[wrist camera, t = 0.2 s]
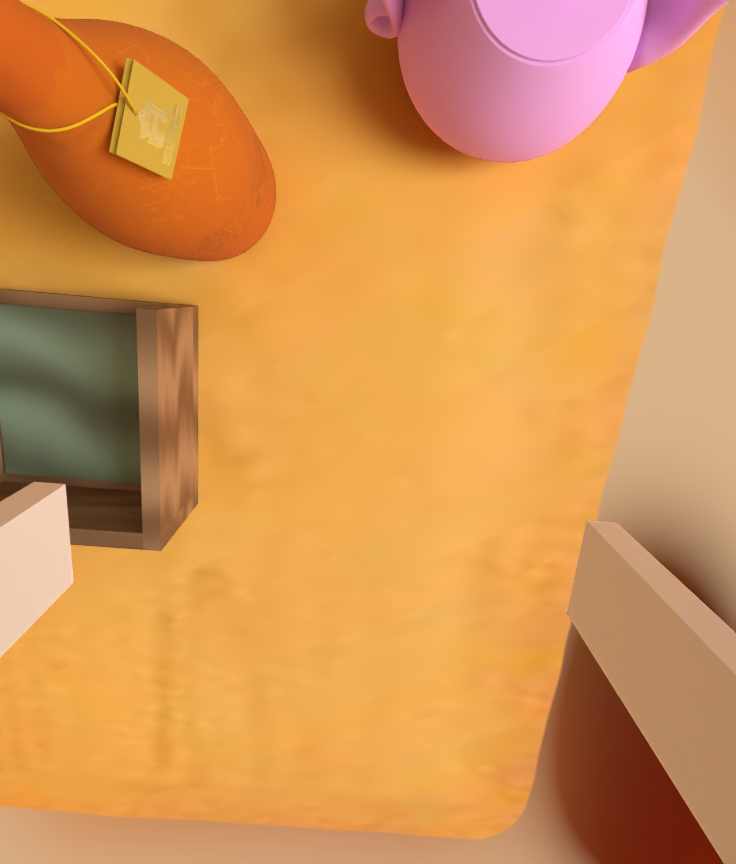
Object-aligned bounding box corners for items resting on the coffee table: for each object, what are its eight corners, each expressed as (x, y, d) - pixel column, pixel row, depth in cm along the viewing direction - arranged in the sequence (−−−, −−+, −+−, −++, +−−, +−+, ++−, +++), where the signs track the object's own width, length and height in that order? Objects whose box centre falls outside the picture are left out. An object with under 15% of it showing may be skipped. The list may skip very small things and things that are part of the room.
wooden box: (-20, 286, 38) (-119, 285, 30) (198, 306, 39) (156, 309, 31) (1, 488, 42) (-82, 533, 35) (197, 503, 43) (160, 551, 35)
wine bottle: (201, 291, 39) (-278, 290, 10) (113, 171, 36) (-851, -299, 7) (309, 212, 37) (125, -64, 8) (224, 83, 35) (-427, -909, 6)
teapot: (680, -52, 33) (860, -245, 21) (635, 186, 37) (767, 136, 25) (372, -82, 33) (378, -299, 21) (357, 163, 36) (355, 100, 24)
